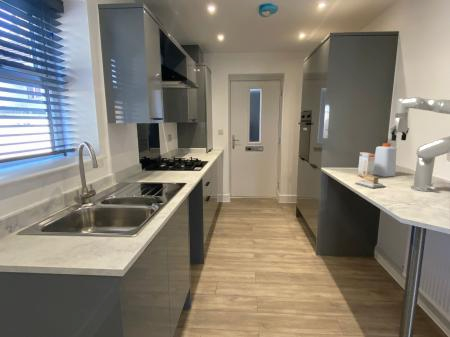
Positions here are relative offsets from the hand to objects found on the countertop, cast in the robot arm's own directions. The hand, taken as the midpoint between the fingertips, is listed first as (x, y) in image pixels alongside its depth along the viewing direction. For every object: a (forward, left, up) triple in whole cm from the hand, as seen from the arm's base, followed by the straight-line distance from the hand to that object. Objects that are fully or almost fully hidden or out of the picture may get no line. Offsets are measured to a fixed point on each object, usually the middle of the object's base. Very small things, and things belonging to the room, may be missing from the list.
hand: (398, 140), depth 186 cm
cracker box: (+28, -3, -34) cm, 44 cm away
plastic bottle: (+30, -26, -34) cm, 52 cm away
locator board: (+5, +17, -33) cm, 38 cm away
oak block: (+5, +17, -32) cm, 37 cm away
